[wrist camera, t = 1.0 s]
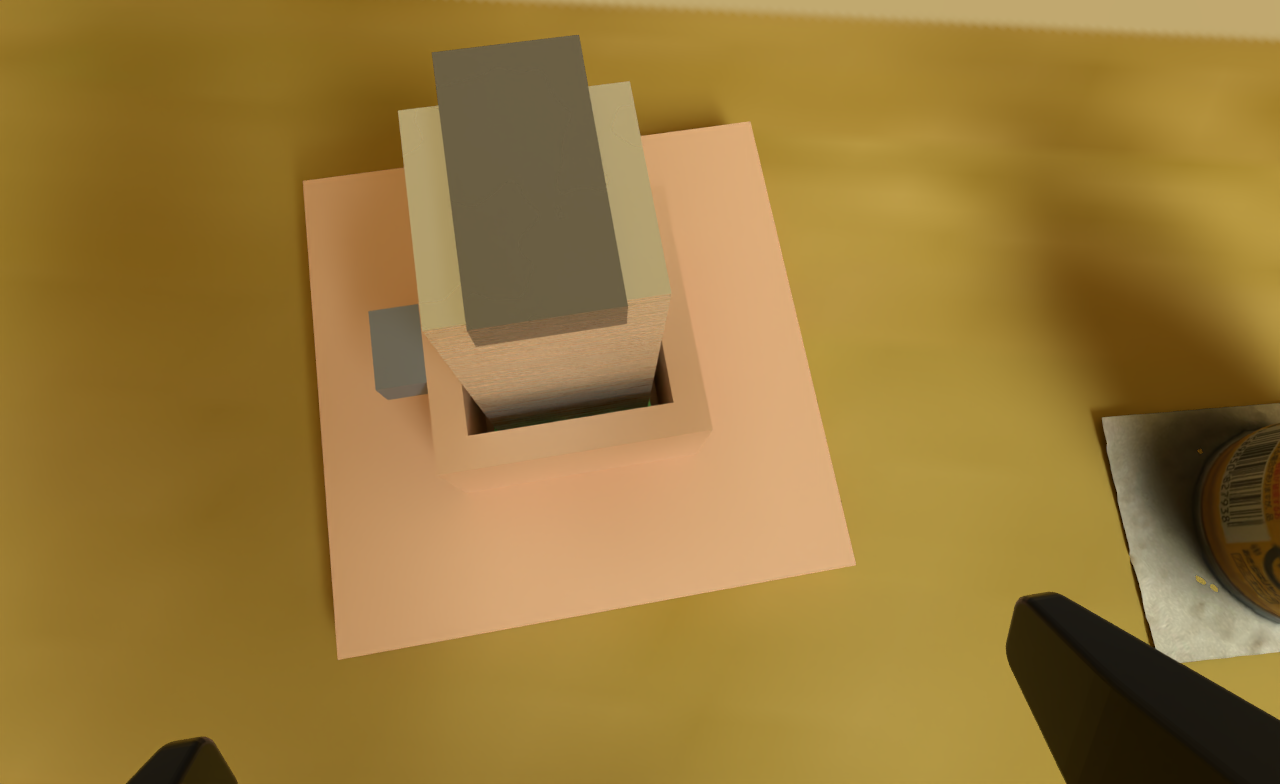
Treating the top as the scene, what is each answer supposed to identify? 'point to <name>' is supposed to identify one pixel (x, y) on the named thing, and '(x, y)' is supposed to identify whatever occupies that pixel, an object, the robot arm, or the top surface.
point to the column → (535, 234)
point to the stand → (567, 428)
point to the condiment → (1203, 525)
